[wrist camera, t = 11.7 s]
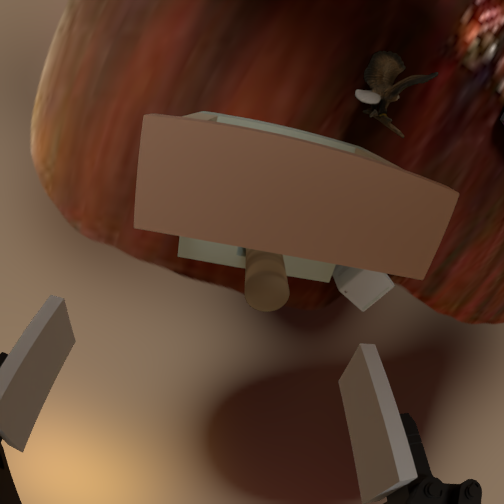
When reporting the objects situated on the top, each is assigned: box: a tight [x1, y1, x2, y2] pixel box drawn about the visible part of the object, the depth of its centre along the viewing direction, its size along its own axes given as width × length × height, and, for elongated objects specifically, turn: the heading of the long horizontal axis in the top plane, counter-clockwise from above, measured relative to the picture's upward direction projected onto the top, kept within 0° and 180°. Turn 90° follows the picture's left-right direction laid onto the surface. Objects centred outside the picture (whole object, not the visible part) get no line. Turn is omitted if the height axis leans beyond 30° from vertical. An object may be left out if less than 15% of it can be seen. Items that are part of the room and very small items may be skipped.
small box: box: [332, 265, 394, 312], centre depth 38 cm, size 6×6×5 cm
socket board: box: [178, 111, 372, 283], centre depth 33 cm, size 16×18×4 cm
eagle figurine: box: [355, 51, 438, 138], centre depth 26 cm, size 8×7×9 cm
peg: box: [245, 248, 289, 312], centre depth 31 cm, size 4×4×14 cm
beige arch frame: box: [134, 113, 459, 280], centre depth 23 cm, size 6×19×14 cm, turn 78°
